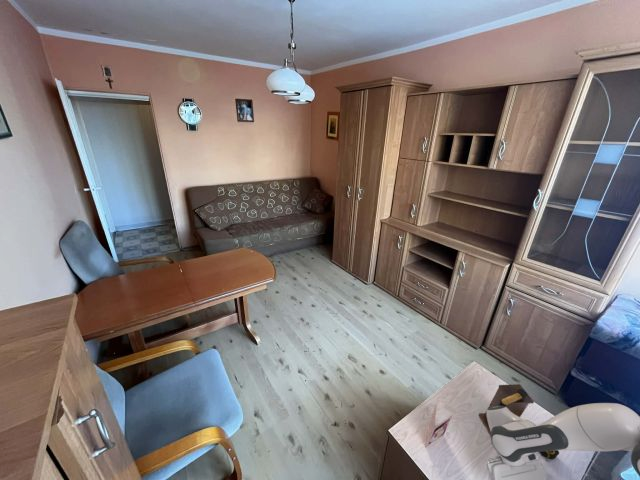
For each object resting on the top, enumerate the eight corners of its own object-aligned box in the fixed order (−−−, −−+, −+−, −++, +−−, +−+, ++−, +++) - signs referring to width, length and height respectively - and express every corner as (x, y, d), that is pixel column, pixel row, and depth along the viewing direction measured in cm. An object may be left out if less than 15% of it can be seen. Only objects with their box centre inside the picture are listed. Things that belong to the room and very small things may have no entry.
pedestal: (516, 436, 120) (538, 404, 109) (491, 438, 119) (511, 405, 108) (501, 414, 129) (520, 382, 118) (478, 415, 128) (495, 382, 117)
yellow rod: (503, 410, 106) (506, 404, 105) (496, 403, 109) (499, 397, 107) (525, 400, 111) (529, 394, 109) (518, 393, 114) (521, 387, 112)
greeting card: (427, 449, 113) (435, 429, 107) (414, 432, 119) (421, 412, 113) (445, 437, 118) (454, 417, 112) (431, 421, 124) (440, 401, 117)
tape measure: (557, 455, 114) (561, 451, 112) (549, 464, 111) (553, 459, 109) (539, 440, 119) (543, 435, 118) (531, 447, 116) (535, 443, 114)
